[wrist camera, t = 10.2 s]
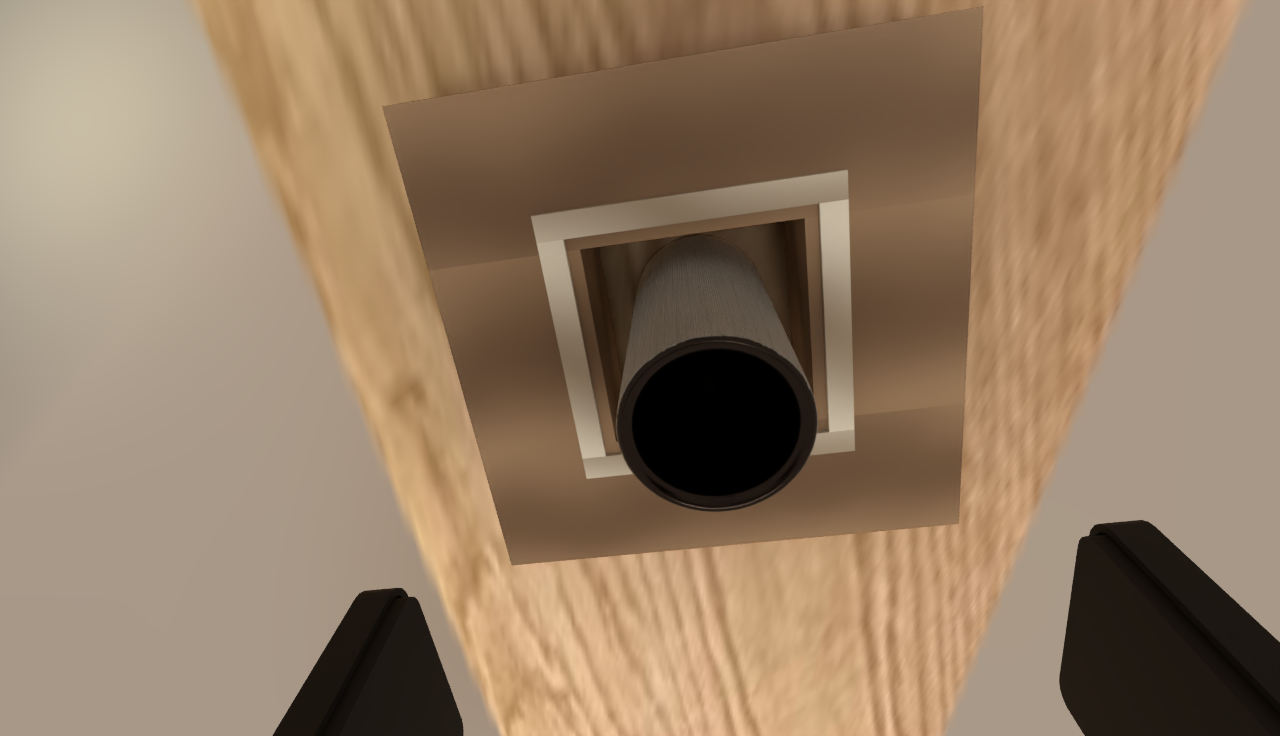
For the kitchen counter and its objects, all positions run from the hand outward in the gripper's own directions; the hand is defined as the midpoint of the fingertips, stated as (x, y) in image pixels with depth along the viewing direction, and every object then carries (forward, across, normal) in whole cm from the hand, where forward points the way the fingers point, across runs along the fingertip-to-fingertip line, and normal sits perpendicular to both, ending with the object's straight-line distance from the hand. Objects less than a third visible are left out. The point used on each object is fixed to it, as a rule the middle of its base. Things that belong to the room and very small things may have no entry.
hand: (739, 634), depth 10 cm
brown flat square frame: (+16, 0, 0) cm, 16 cm away
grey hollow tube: (+16, 0, 0) cm, 16 cm away
